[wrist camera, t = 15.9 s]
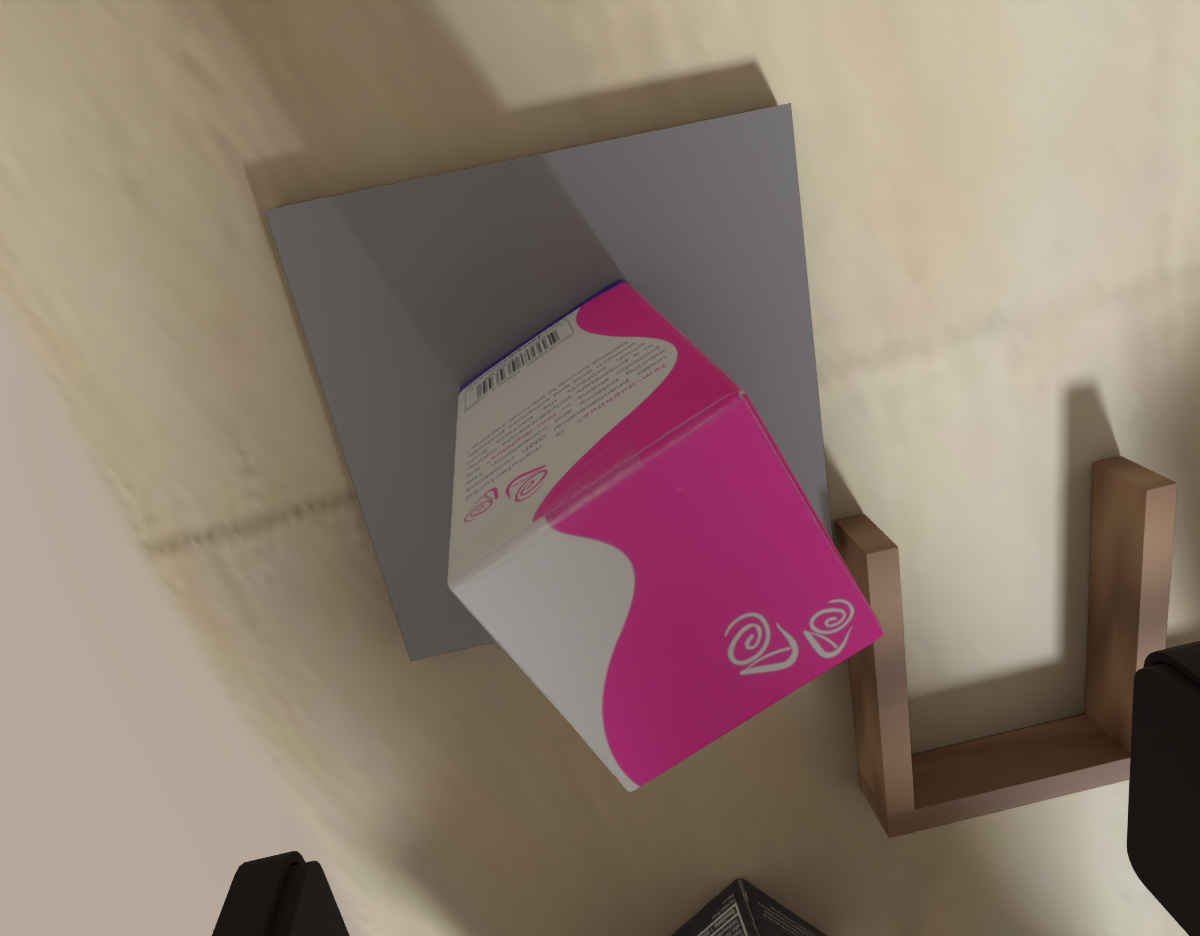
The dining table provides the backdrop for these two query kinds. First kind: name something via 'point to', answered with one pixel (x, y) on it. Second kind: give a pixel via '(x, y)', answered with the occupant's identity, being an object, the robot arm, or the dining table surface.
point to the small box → (746, 916)
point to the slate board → (543, 309)
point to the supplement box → (641, 537)
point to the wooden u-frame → (1039, 753)
